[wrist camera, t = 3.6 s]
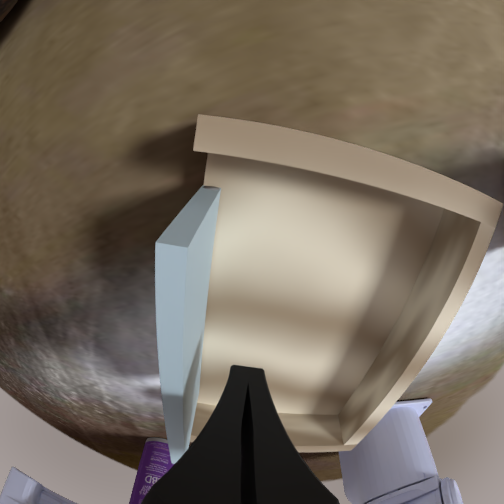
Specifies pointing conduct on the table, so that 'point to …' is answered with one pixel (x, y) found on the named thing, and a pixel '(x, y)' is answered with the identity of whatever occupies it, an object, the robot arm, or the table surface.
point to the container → (151, 467)
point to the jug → (6, 7)
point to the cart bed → (330, 274)
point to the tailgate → (183, 311)
